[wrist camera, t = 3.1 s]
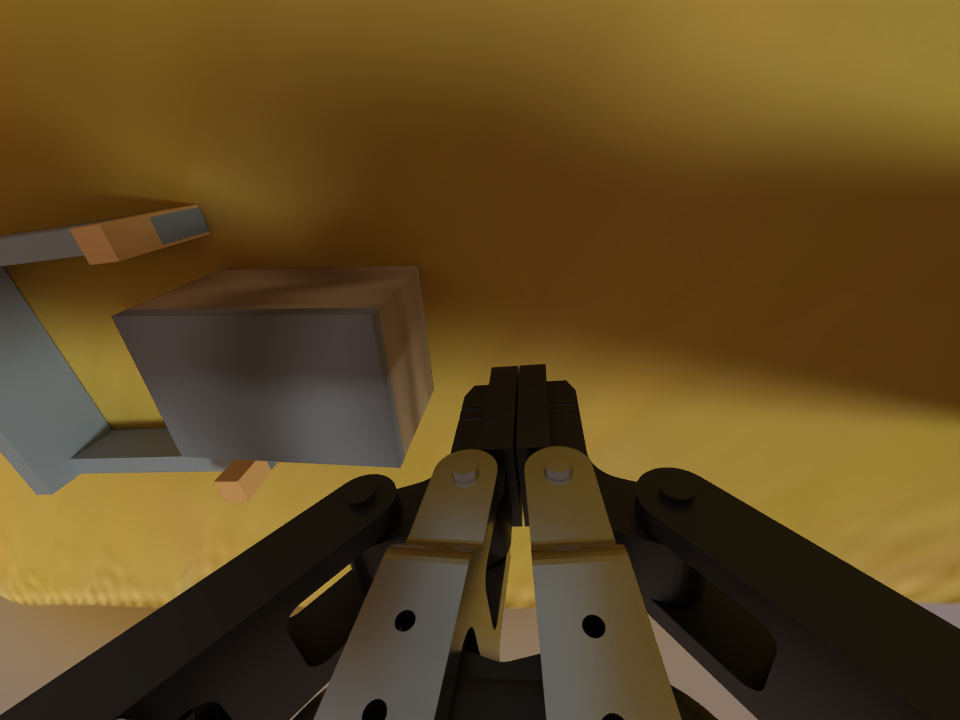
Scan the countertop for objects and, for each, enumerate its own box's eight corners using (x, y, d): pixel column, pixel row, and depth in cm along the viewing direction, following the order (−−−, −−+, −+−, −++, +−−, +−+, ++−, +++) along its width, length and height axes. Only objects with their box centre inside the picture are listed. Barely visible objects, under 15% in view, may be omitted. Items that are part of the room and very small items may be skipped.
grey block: (419, 264, 17) (371, 314, 13) (434, 387, 20) (400, 467, 15) (224, 268, 19) (111, 316, 14) (264, 383, 21) (182, 456, 17)
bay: (197, 204, 17) (99, 224, 13) (297, 439, 23) (248, 501, 19) (-35, 238, 19) (-176, 264, 16) (108, 445, 25) (29, 502, 21)
